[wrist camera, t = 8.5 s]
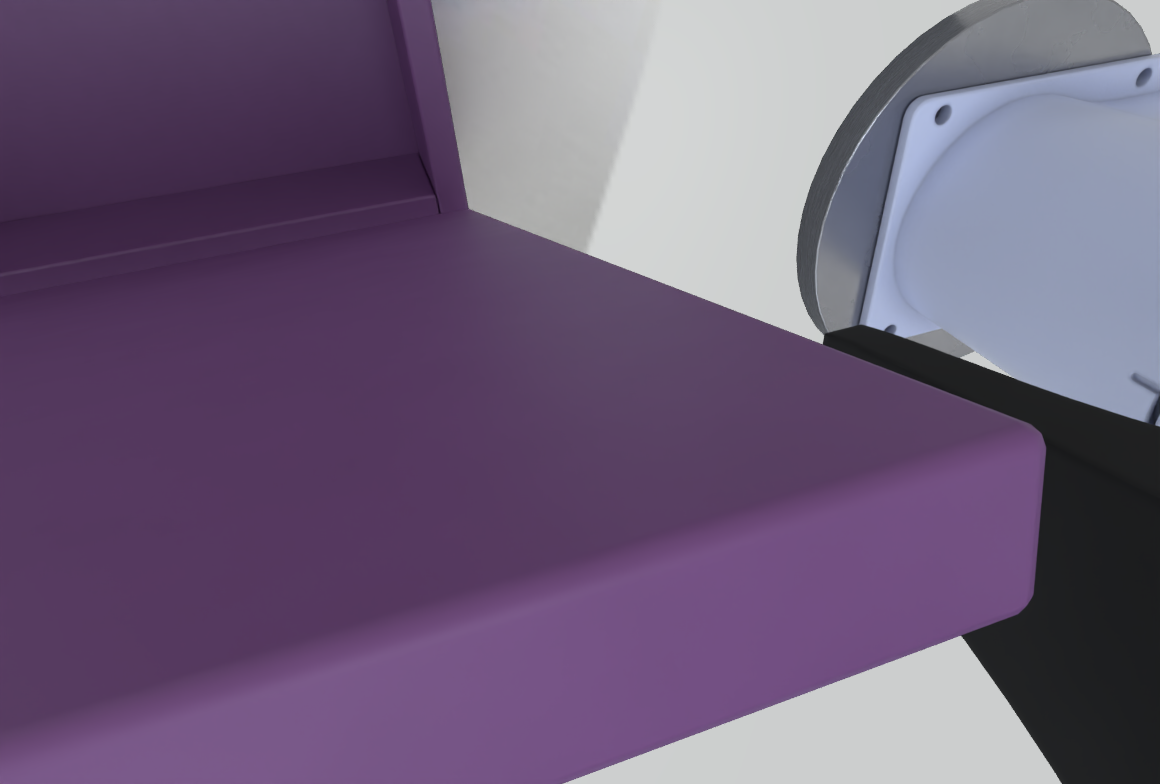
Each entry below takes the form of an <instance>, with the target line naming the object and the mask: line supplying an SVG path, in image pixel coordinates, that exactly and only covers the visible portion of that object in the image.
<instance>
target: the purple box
mask: <svg viewBox="0 0 1160 784" xmlns="http://www.w3.org/2000/svg"><path fill="white" fill-rule="evenodd" d="M464 209H469V208H468V203H467V197H466V192H465V186H464V181H463V175H462V170H461V164H460V159H459V153H458V148H457V142H456V137H455V131H454V126H453V120H452V114H451V109H450V103H449V98H448V92H447V87H446V81H445V76H444V70H443V65H442V59H441V54H440V48H439V43H438V37H437V32H436V26H435V21H434V15H433V10H432V4H431V0H0V297H1V296H7V295H12V294H17V293H23V292H28V291H33V290H39V289H44V288H49V287H55V286H60V285H65V284H71V283H76V282H81V281H87V280H92V279H97V278H102V277H108V276H113V275H118V274H124V273H129V272H134V271H140V270H145V269H150V268H156V267H161V266H166V265H172V264H177V263H182V262H188V261H193V260H198V259H203V258H209V257H214V256H219V255H225V254H230V253H235V252H241V251H246V250H251V249H257V248H262V247H267V246H273V245H278V244H283V243H289V242H294V241H299V240H305V239H310V238H315V237H320V236H326V235H331V234H336V233H342V232H347V231H352V230H358V229H363V228H368V227H374V226H379V225H384V224H390V223H395V222H400V221H406V220H411V219H416V218H422V217H427V216H432V215H437V214H443V213H448V212H453V211H459V210H464Z"/></svg>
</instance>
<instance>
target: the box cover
mask: <svg viewBox="0 0 1160 784" xmlns="http://www.w3.org/2000/svg"><path fill="white" fill-rule="evenodd" d="M1045 457H1046V445H1045V442H1044V439H1043V436H1042V434H1041V433H1040V432H1039V431H1038V430H1037V429H1036V428H1035V427H1033V426H1032V425H1031V424H1029V423H1026V422H1024V421H1021V420H1018V419H1016V418H1013V417H1011V416H1008V415H1005V414H1003V413H1000V412H998V411H995V410H992V409H990V408H987V407H984V406H982V405H979V404H977V403H974V402H971V401H969V400H966V399H964V398H961V397H958V396H956V395H953V394H951V393H948V392H945V391H943V390H940V389H937V388H935V387H932V386H930V385H927V384H924V383H922V382H919V381H917V380H914V379H911V378H909V377H906V376H904V375H901V374H898V373H896V372H893V371H890V370H888V369H885V368H883V367H880V366H877V365H875V364H872V363H870V362H867V361H864V360H862V359H859V358H857V357H854V356H851V355H849V354H846V353H843V352H841V351H838V350H836V349H833V348H830V347H828V346H825V345H823V344H820V343H817V342H815V341H812V340H810V339H807V338H804V337H802V336H799V335H796V334H794V333H791V332H789V331H786V330H783V329H780V328H778V327H775V326H773V325H770V324H768V323H765V322H762V321H760V320H757V319H755V318H752V317H749V316H747V315H744V314H741V313H739V312H736V311H734V310H731V309H728V308H726V307H723V306H721V305H718V304H715V303H713V302H710V301H708V300H705V299H702V298H700V297H697V296H695V295H692V294H689V293H687V292H684V291H682V290H679V289H676V288H674V287H671V286H668V285H665V284H663V283H660V282H658V281H655V280H653V279H650V278H648V277H645V276H642V275H640V274H637V273H635V272H632V271H629V270H626V269H624V268H621V267H619V266H616V265H613V264H611V263H608V262H606V261H603V260H601V259H598V258H595V257H592V256H590V255H588V254H585V253H582V252H580V251H577V250H574V249H572V248H569V247H567V246H564V245H561V244H559V243H556V242H554V241H551V240H548V239H546V238H543V237H541V236H538V235H535V234H533V233H530V232H527V231H525V230H522V229H520V228H517V227H514V226H512V225H509V224H507V223H504V222H501V221H499V220H496V219H494V218H491V217H488V216H486V215H483V214H480V213H478V212H475V211H473V210H470V209H464V210H459V211H453V212H448V213H443V214H437V215H432V216H427V217H422V218H416V219H411V220H406V221H400V222H395V223H390V224H384V225H379V226H374V227H368V228H363V229H358V230H352V231H347V232H342V233H336V234H331V235H326V236H320V237H315V238H310V239H305V240H299V241H294V242H289V243H283V244H278V245H273V246H267V247H262V248H257V249H251V250H246V251H241V252H235V253H230V254H225V255H219V256H214V257H209V258H203V259H198V260H193V261H188V262H182V263H177V264H172V265H166V266H161V267H156V268H150V269H145V270H140V271H134V272H129V273H124V274H118V275H113V276H108V277H102V278H97V279H92V280H87V281H81V282H76V283H71V284H65V285H60V286H55V287H49V288H44V289H39V290H33V291H28V292H23V293H17V294H12V295H7V296H1V297H0V784H563V783H566V782H568V781H571V780H574V779H576V778H579V777H582V776H584V775H587V774H590V773H593V772H595V771H598V770H601V769H603V768H606V767H609V766H611V765H614V764H617V763H619V762H622V761H625V760H627V759H630V758H633V757H635V756H638V755H640V754H644V753H646V752H649V751H652V750H654V749H657V748H659V747H662V746H665V745H668V744H670V743H673V742H676V741H678V740H681V739H684V738H687V737H689V736H692V735H695V734H697V733H700V732H703V731H705V730H708V729H711V728H713V727H716V726H719V725H721V724H724V723H727V722H730V721H732V720H735V719H738V718H740V717H743V716H746V715H748V714H751V713H754V712H756V711H759V710H762V709H765V708H767V707H770V706H773V705H775V704H778V703H781V702H783V701H786V700H789V699H791V698H794V697H797V696H800V695H802V694H805V693H808V692H810V691H813V690H816V689H818V688H821V687H823V686H826V685H829V684H832V683H834V682H837V681H840V680H842V679H845V678H848V677H851V676H853V675H856V674H859V673H861V672H864V671H867V670H869V669H872V668H875V667H877V666H880V665H883V664H885V663H888V662H891V661H894V660H896V659H899V658H901V657H904V656H907V655H910V654H912V653H915V652H918V651H920V650H923V649H926V648H928V647H931V646H934V645H937V644H939V643H942V642H945V641H947V640H950V639H953V638H955V637H958V636H961V635H964V634H966V633H969V632H972V631H974V630H977V629H980V628H982V627H985V626H988V625H990V624H993V623H996V622H998V621H1001V620H1004V619H1007V618H1009V617H1012V616H1015V615H1017V614H1019V613H1020V612H1021V611H1022V610H1023V609H1024V608H1025V607H1026V606H1027V605H1028V603H1029V601H1030V600H1031V598H1032V596H1033V594H1034V583H1035V571H1036V560H1037V548H1038V537H1039V525H1040V514H1041V502H1042V491H1043V480H1044V468H1045Z"/></svg>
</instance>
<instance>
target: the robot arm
mask: <svg viewBox="0 0 1160 784" xmlns="http://www.w3.org/2000/svg"><path fill="white" fill-rule="evenodd" d="M940 108H941V112H940V114H939V116H938V117H937V118H936V119H935V116H936V113H937V111H938V110H939V109H940ZM938 329H943V330H945V331H946V332H948V333H949V334H951V335H952V336H954V337H955V338H957V339H958V340H960V341H961V342H962V343H964V344H965V345H967V346H968V347H970V348H971V349H973V350H974V351H976V352H977V353H979V354H980V355H981V356H983V357H984V358H986V359H987V360H989V361H991V362H992V363H993V364H995V365H996V366H998V367H999V368H1000V369H1002V370H1004V371H1005V372H1006V373H1008V374H1009V375H1011V376H1012V377H1014V378H1015V379H1014V378H1012V377H1009V376H1006V375H1003V374H1001V373H998V372H995V371H993V370H990V369H987V368H985V367H982V366H979V365H977V364H974V363H971V362H969V361H966V360H963V359H961V358H958V357H955V356H953V355H950V354H947V353H945V352H942V351H939V350H937V349H934V348H931V347H928V346H926V345H923V344H920V343H917V342H915V341H912V340H909V339H906V338H907V337H911V336H915V335H919V334H922V333H926V332H930V331H934V330H938ZM823 345H825V346H828V347H830V348H833V349H836V350H838V351H841V352H843V353H846V354H849V355H851V356H854V357H857V358H859V359H862V360H864V361H867V362H870V363H872V364H875V365H877V366H880V367H883V368H885V369H888V370H890V371H893V372H896V373H898V374H901V375H904V376H906V377H909V378H911V379H914V380H917V381H919V382H922V383H924V384H927V385H930V386H932V387H935V388H937V389H940V390H943V391H945V392H948V393H951V394H953V395H956V396H958V397H961V398H964V399H966V400H969V401H971V402H974V403H977V404H979V405H982V406H984V407H987V408H990V409H992V410H995V411H998V412H1000V413H1003V414H1005V415H1008V416H1011V417H1013V418H1016V419H1018V420H1021V421H1024V422H1026V423H1029V424H1031V425H1032V426H1033V427H1035V428H1036V429H1037V430H1038V431H1039V432H1040V433H1041V434H1042V436H1043V439H1044V442H1045V445H1046V457H1045V468H1044V480H1043V491H1042V502H1041V514H1040V525H1039V537H1038V548H1037V560H1036V571H1035V583H1034V594H1033V596H1032V598H1031V600H1030V601H1029V603H1028V605H1027V606H1026V607H1025V608H1024V609H1023V610H1022V611H1021V612H1020V613H1019V614H1017V615H1015V616H1012V617H1009V618H1007V619H1004V620H1001V621H998V622H996V623H993V624H990V625H988V626H985V627H982V628H980V629H977V630H974V631H972V632H969V633H966V634H964V635H961V636H962V637H963V639H964V640H965V641H966V643H967V644H968V645H969V647H970V648H971V650H972V651H973V653H974V654H975V655H976V657H977V658H978V660H979V661H980V662H981V664H982V665H983V667H984V668H985V670H986V671H987V672H988V674H989V675H990V677H991V678H992V679H993V681H994V682H995V684H996V685H997V686H998V688H999V689H1000V691H1001V692H1002V694H1003V695H1004V696H1005V698H1006V699H1007V701H1008V702H1009V704H1010V705H1011V707H1012V708H1013V710H1014V711H1015V713H1016V714H1017V716H1018V717H1019V719H1020V720H1021V722H1022V723H1023V725H1024V726H1025V728H1026V729H1027V731H1028V732H1029V734H1030V735H1031V737H1032V738H1033V740H1034V741H1035V743H1036V744H1037V746H1038V747H1039V749H1040V750H1041V752H1042V753H1043V755H1044V756H1045V758H1046V759H1047V761H1048V762H1049V764H1050V766H1051V767H1052V769H1053V770H1054V772H1055V773H1056V775H1057V777H1058V778H1059V780H1060V781H1061V783H1062V784H1160V53H1159V54H1154V55H1148V56H1143V57H1137V58H1131V59H1126V60H1120V61H1115V62H1109V63H1103V64H1098V65H1092V66H1086V67H1081V68H1075V69H1070V70H1064V71H1058V72H1053V73H1047V74H1042V75H1036V76H1030V77H1025V78H1019V79H1014V80H1008V81H1002V82H997V83H991V84H986V85H980V86H974V87H969V88H963V89H958V90H952V91H946V92H941V93H935V94H930V95H924V96H921V97H919V98H917V99H915V100H914V101H913V102H912V103H911V104H910V105H909V107H908V108H907V110H906V112H905V115H904V118H903V122H902V127H901V132H900V136H899V141H898V146H897V150H896V155H895V160H894V164H893V169H892V174H891V178H890V183H889V188H888V192H887V197H886V202H885V206H884V211H883V216H882V220H881V225H880V230H879V234H878V239H877V244H876V248H875V253H874V258H873V262H872V267H871V272H870V276H869V281H868V286H867V290H866V295H865V300H864V304H863V309H862V314H861V318H860V323H859V325H856V326H852V327H848V328H844V329H841V330H837V331H833V332H829V333H825V335H824V341H823Z"/></svg>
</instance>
